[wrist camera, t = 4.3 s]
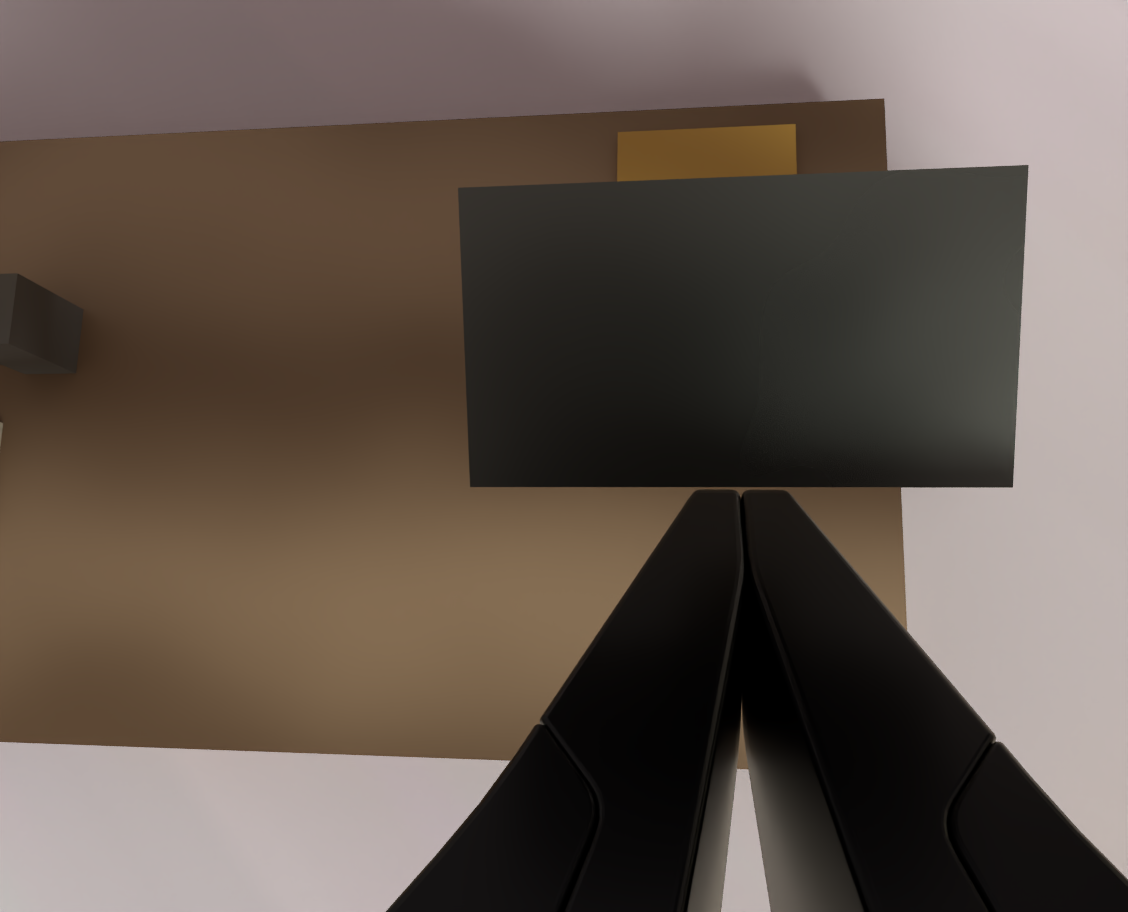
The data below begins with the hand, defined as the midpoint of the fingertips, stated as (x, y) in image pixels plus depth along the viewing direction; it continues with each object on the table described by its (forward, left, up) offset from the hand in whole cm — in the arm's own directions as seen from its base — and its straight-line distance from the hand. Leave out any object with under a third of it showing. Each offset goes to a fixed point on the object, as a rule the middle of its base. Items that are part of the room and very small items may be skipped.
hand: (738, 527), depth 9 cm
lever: (+3, +3, -6) cm, 7 cm away
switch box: (-3, +7, -9) cm, 12 cm away
